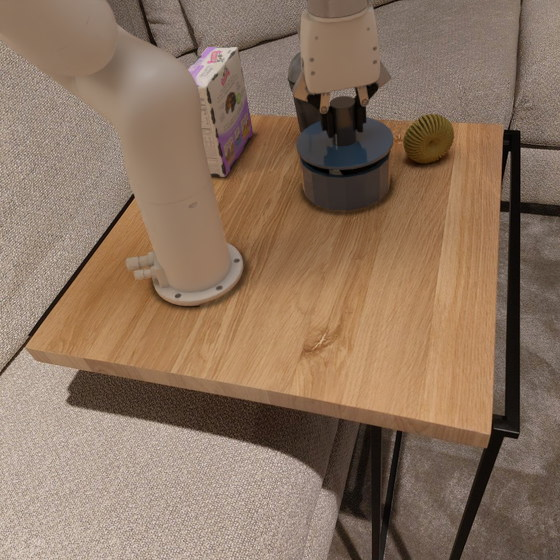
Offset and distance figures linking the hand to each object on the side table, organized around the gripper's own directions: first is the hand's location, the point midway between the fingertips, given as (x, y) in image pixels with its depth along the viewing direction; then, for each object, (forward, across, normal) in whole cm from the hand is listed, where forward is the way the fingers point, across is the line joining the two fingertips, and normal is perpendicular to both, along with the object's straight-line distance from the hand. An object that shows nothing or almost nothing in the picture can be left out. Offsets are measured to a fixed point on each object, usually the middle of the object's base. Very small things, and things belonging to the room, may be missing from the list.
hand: (343, 129), depth 85 cm
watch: (+10, 0, 0) cm, 10 cm away
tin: (+10, 0, 0) cm, 10 cm away
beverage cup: (+10, +2, -16) cm, 19 cm away
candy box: (+10, +18, -16) cm, 26 cm away
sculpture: (+10, -14, -3) cm, 18 cm away
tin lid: (+2, 0, 0) cm, 2 cm away
